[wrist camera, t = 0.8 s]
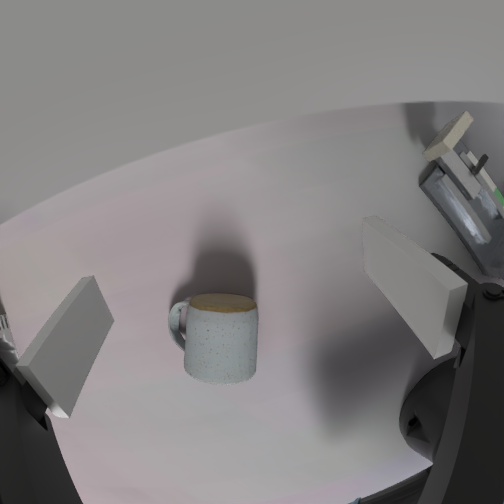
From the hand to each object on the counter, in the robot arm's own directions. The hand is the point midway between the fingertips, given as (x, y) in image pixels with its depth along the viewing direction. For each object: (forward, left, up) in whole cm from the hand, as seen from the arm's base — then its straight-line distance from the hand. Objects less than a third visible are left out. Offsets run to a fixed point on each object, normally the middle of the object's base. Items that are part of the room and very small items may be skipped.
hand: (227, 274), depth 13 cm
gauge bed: (-15, -23, -19) cm, 33 cm away
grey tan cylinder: (-2, +10, -19) cm, 22 cm away
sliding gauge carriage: (-9, -24, -17) cm, 31 cm away
